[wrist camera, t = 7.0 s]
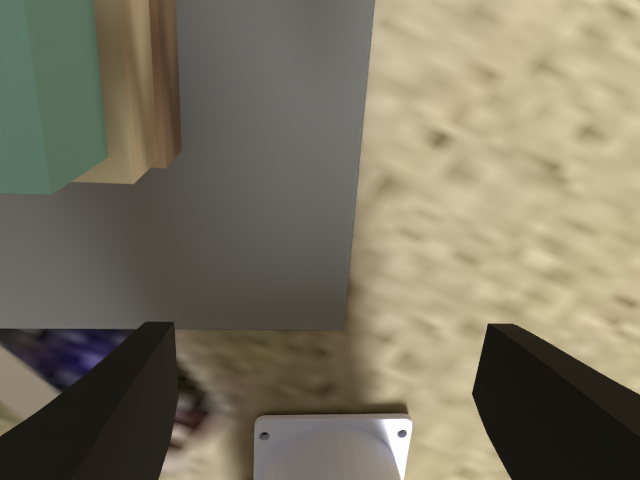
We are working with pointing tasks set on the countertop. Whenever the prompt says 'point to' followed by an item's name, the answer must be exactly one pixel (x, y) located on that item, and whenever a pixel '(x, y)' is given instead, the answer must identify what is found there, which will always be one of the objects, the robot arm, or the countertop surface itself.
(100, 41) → the tower mid
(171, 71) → the tower base
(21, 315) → the mat
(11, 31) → the teal block
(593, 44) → the countertop surface
